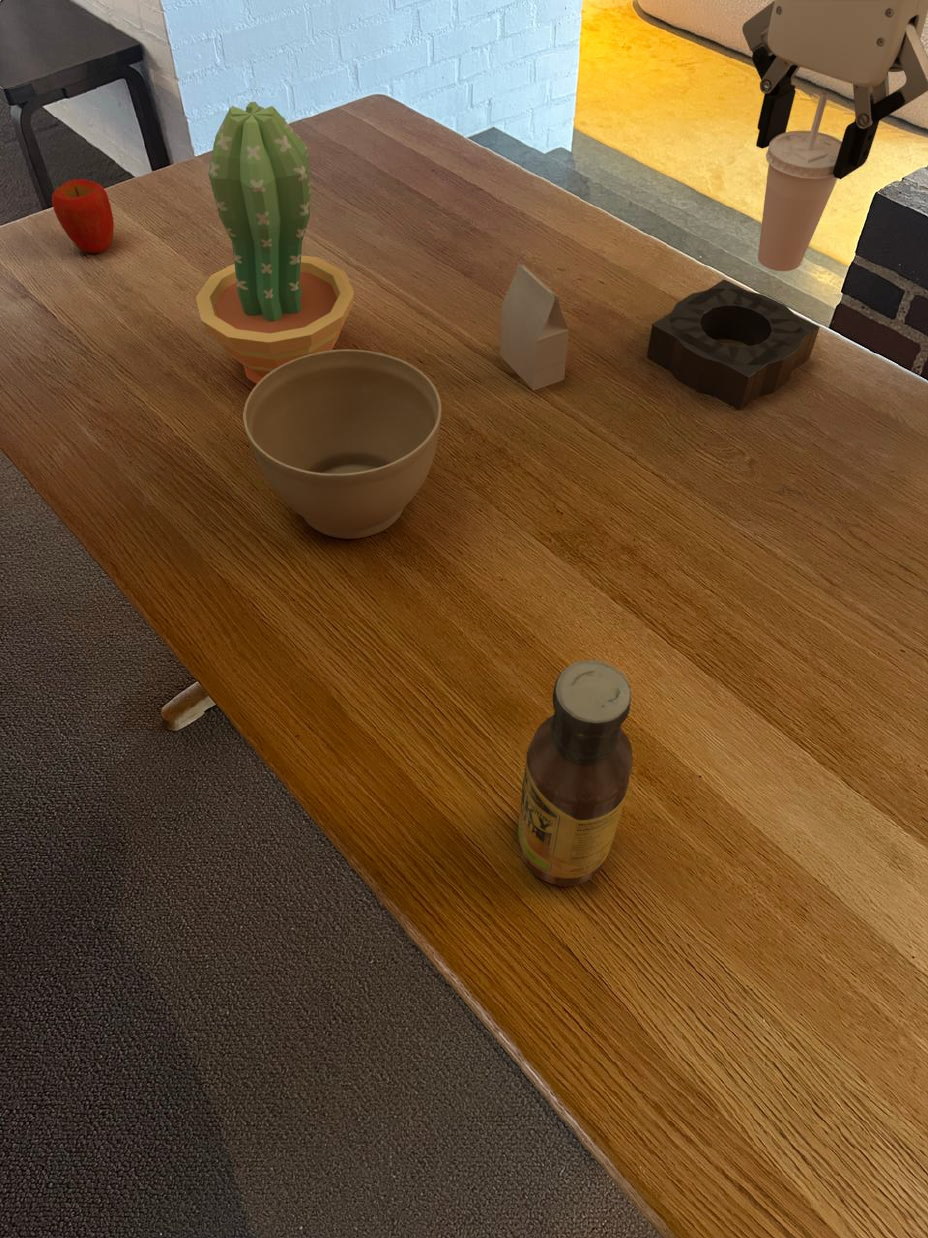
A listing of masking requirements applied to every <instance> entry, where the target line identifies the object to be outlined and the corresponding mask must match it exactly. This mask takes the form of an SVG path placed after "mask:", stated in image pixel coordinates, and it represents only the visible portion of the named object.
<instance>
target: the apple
mask: <svg viewBox="0 0 928 1238" xmlns="http://www.w3.org/2000/svg"><path fill="white" fill-rule="evenodd" d="M109 199H110V198H109V196H108V194H107V191H106V189H105V188H104V186H103V185H101V184H99V183H97V182H95V181H92V180H89V179H82V178H78V179H70V180H68V181H66V182H64V183H63V184H61V185H59V186H58V187H57V188H56V189H55V190H54V191H53V192H52V194H51V204H52V207H53V211H54V214H55V217H56V218H57V220H58V222H59V224H60V226H61V228H62V230H63V231H64V232H65V234H66V235H67V237H68V238H69V239H70V240H71V241H72V242H73V244H75V246H76V247H77V248H78V249H80V250H81V251H83V252H84V253H90V254H101V253H104V252H106V251H107V250H109V249H110V248H111V246H112V244H113V240H114V239H113V238H114V230H115V223H114V222H115V221H114V216H113V211H112V205H111V203H110V200H109Z"/></svg>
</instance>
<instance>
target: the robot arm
mask: <svg viewBox="0 0 928 1238" xmlns="http://www.w3.org/2000/svg"><path fill="white" fill-rule="evenodd" d="M927 15H928V0H773V1H771V3H769V4H767V5H766V6H765V7H764V8H763V9H761V10H760V11H759V12H757V13H756V14H755V15H753V16H752V17H751V18H749V19H748V20H746V21H745V22H744V23H743V24H742V27H741V31H742V34H743V36H744V39H745V41H746V43H747V46H748V49H749V51H750V52H751V53H752V55H751V56H752V57H751V59H752V63H753V65H754V67H755V69H756V71H757V74H758V76H759V79H760V81H759V90H760V91H761V93H762V94H764V95H763V99H762V102H761V103H762V104H761V108H760V113H759V117H758V122H757V126H756V127H757V128H756V129H757V130H758V135H757V137H756V138H757V139H756V142H755V146H756V147H757V148H759V149H762V150H763V149H766V148H769V143H770V141H771V140H772V139H773V138H774V137H776V136H777V135H779V134H782V133H785V132H787V129H788V124H789V121H790V116H791V112H792V108H793V104H794V100H795V97H796V92H797V90H796V85H794V84H793V83H792V80H793V79H794V78H795V76H796V74H797V73H798V72H799V70H800V69H801V68H803V69H806V70H809V71H812V72H815V73H818V74H821V75H824V76H826V77H830V78H833V79H835V80H839V81H842V82H845V83H848V84H851V85H852V90H853V91H852V92H853V100H854V101H853V103H854V105H853V106H854V116H855V118H854V121H852V122H851V123H849V124H848V125H847V126H846V127H845V130H844V132H843V136H842V140H841V141H842V143H841V146H840V150H839V153H838V156H837V160H836V163H835V167H834V170H833V175H834V177H835V178H838V179H839V180H843V179H844V178H845V177H847V176H849V175H850V174H852V173H853V172H855V171H856V170H858V169H859V168H861V167H863V166H864V165H865V164H866V162H867V160H868V159H869V156H870V153H871V149H872V146H873V144H874V141H875V136H876V133H877V131H878V128H879V125H880V121H881V120H883V119H885V118H886V117H888V116H889V115H891V114H893V113H895V112H896V111H898V110H900V109H901V108H903V107H904V106H906V105H908V104H909V103H911V102H913V101H914V100H915V99H916V100H917V99H918V98H919V97H920V96H923V95H924V94H925V93H927V92H928V54H927V52H926V49H925V47H924V44H923V43H922V40H921V38H922V35H923V31H924V28H925V24H926V21H927V17H928V16H927ZM900 72H903V73H904V75H905V78H906V79H905V82H904V84H903V85H902V86H901V87H900V88H898V89H896V90H894V91H893V92H891V93H890V80H889V78H890V77H889V73H900ZM838 179H837V180H838Z"/></svg>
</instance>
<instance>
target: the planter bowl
mask: <svg viewBox="0 0 928 1238" xmlns="http://www.w3.org/2000/svg"><path fill="white" fill-rule="evenodd" d="M442 411H443V409H442V401H441V397H440V394H439V392H438V390H437V388H436V386H435V385H434V383H433V382H432V380H431V379H430V378H429V377H428V376H427V375H426V374H425V373H423V371H421V370H420V369H418V368H417V367H415V366H414V365H412V364H411V363H409V362H407V361H405V360H403V359H400V358H398V357H395V356H392V355H389V354H385V353H381V352H376V351H371V350H365V349H364V350H363V349H351V348H350V349H349V348H348V349H345V348H344V349H342V348H341V349H332V350H329V351H323V352H318V353H314V354H309V355H305V356H302V357H299V358H297V359H294V360H291V361H289V362H287V363H285V364H283V365H281V366H279V367H277V368H276V369H274V370H273V371H271V372H270V373H268V374H267V375H266V376H265V377H263V378H262V379H261V380H260V381H259V382H258V383H257V384H255V386H254V387H253V388H252V390H251V391H250V393H249V395H248V397H247V398H246V400H245V404H244V406H243V410H242V417H243V418H242V419H243V420H242V422H243V426H244V430H245V434H246V437H247V439H248V442H249V444H250V446H251V447H252V448H251V449H252V451H253V454H254V458H255V459H256V462H257V464H258V467H259V469H260V471H261V473H262V475H263V477H264V478H265V480H266V482H267V483H268V484H269V486H270V487H271V489H272V490H273V491H274V493H275V494H276V495H277V496H278V497H279V498H280V499H281V500H282V501H283V502H284V503H285V504H286V505H287V507H289V508H290V509H291V510H293V512H295V513H296V514H297V515H299V516H301V517H303V519H304V521H305V522H306V523H307V524H308V525H309V526H310V527H311V528H313V529H314V530H316V531H318V532H319V533H321V534H322V535H326V536H329V537H331V538H338V539H347V540H354V539H362V538H367V537H370V536H373V535H374V536H375V535H376V534H379V533H381V532H383V531H385V530H387V529H389V528H390V527H391V526H392V525H394V523H396V522H397V521H398V520H399V518H400V517H401V515H402V513H403V511H404V509H405V507H406V506H407V505H408V504H409V503H410V502H412V500H413V498H415V496H416V495H417V493H418V492H419V490H420V489H421V488H422V486H423V484H424V483H425V481H426V480H427V477H428V475H429V473H430V470H431V468H432V465H433V463H434V459H435V457H436V455H435V454H436V451H437V447H438V441H439V431H440V426H441V422H442Z"/></svg>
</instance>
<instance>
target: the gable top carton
mask: <svg viewBox="0 0 928 1238" xmlns="http://www.w3.org/2000/svg"><path fill="white" fill-rule="evenodd" d="M515 269H516V270H515V272H514V275H513V278H512V281H511V283H510V285H509V287H508V290H507V292H506V294H505V296H504V299H503V300H502V303H501V306H500V330H499V333H500V335H499V356H500V358H501V359H502V360H503V361H504V362H505V363H506V364H507V366H509V367H510V368H511V369H512V371H514V372H515V373H516V375H518V376H519V377H520V379H521V380H523V382H524V383H525V384H526V385H527V386H528V387H529V388H530V389H531V390H532V391H533V392H534V391H537V390H540V389H543V388H546V387H548V386H551V385H554V384H556V383H559V382H562V381H565V375H566V366H567V357H568V356H567V354H568V346H569V345H568V344H569V336H570V335H569V334H570V328H569V326H568V324H567V322H566V319H565V318H564V314H563V313H562V310H561V306H560V302H559V296H558V295H557V294H556V293H554V292H553V291H552V290H551V289H550V288H549V287H548V286H547V285H546V284H544V283H543V282H542V281H541V280H540V279H539V278H538V277H537V276H536V275H535V274H534V273H533V272H531V271H530V270H529V268H527V267H526V266H525V265H524V264H523V263H520V264H519V263H517V265H516V268H515Z"/></svg>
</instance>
